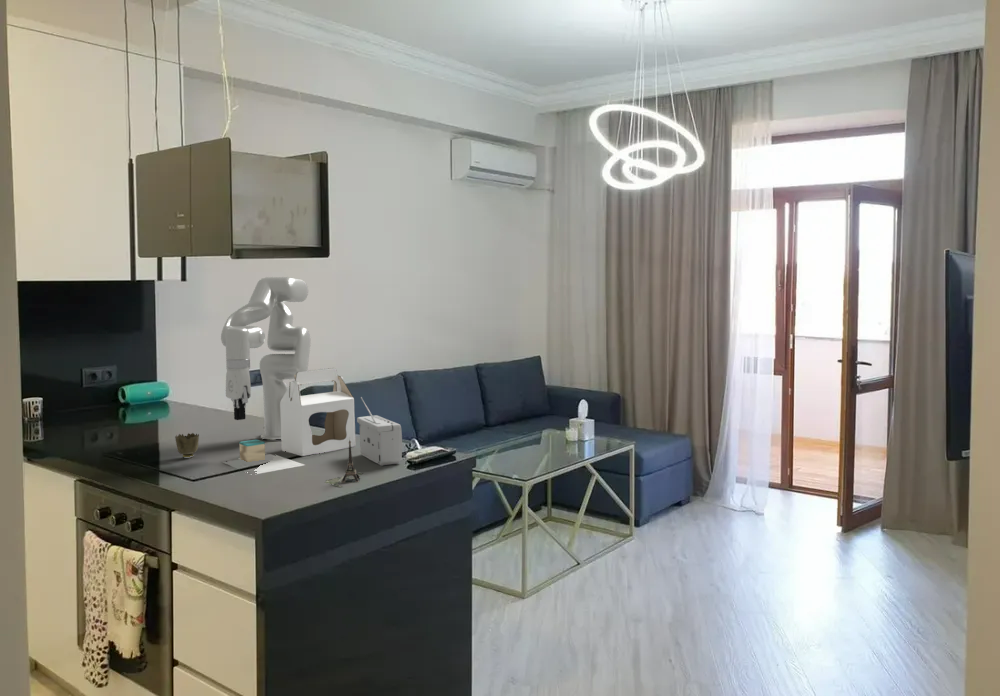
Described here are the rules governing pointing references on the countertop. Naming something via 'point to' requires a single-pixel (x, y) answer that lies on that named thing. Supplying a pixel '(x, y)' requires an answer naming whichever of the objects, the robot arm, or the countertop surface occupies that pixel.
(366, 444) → the stereo radio cassette player
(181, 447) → the cup
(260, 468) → the mat
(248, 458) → the block
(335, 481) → the eiffel tower figurine
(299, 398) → the gable box
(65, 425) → the countertop surface
